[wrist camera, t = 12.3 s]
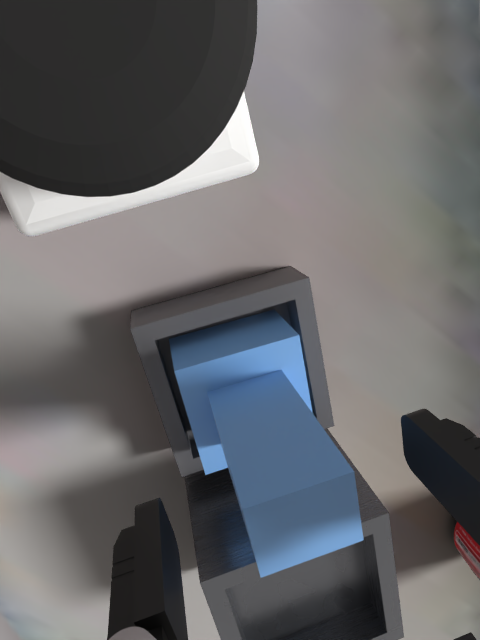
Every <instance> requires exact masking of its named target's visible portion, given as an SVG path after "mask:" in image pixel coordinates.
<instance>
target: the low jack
mask: <svg viewBox="0 0 480 640" xmlns="http://www.w3.org/2000/svg"><path fill="white" fill-rule="evenodd" d="M270 310H275V311H276V312H277V313H278V314H279V315H280V316H281V317H282V318H283V319H284V320H285V321H286V322H287V323H288V324H289V325H290V326H291V327H292V328H293V329H294V330H295V331H296V332H297V333H298V334H299V336H300V342H301V348H302V354H303V360H304V366H305V371H306V377H307V383H308V389H309V395H310V400H311V406H312V412H313V415H314V416H315V417H316V419H317V420H318V422H319V423H320V424H321V426H322V427H323V429H326V428H329V427H332V426H334V422H333V416H332V410H331V404H330V398H329V392H328V386H327V381H326V375H325V369H324V363H323V357H322V351H321V345H320V339H319V333H318V327H317V321H316V315H315V309H314V303H313V297H312V291H311V285H310V280H309V277H307V276H306V275H304V274H303V273H301V272H299V271H298V270H296V269H295V268H293V267H291V266H289V267H286V268H282V269H279V270H275V271H271V272H268V273H264V274H261V275H257V276H254V277H250V278H247V279H243V280H239V281H236V282H232V283H229V284H225V285H222V286H218V287H215V288H211V289H207V290H204V291H200V292H197V293H193V294H190V295H186V296H183V297H179V298H175V299H172V300H168V301H165V302H161V303H158V304H154V305H151V306H147V307H143V308H140V309H136V310H133V311H131V324H130V330H131V333H132V336H133V339H134V341H135V344H136V347H137V350H138V353H139V356H140V359H141V362H142V364H143V367H144V370H145V373H146V376H147V379H148V382H149V385H150V388H151V390H152V393H153V396H154V399H155V402H156V405H157V408H158V411H159V413H160V416H161V419H162V422H163V425H164V428H165V431H166V434H167V437H168V439H169V442H170V445H171V448H172V451H173V454H174V457H175V460H176V463H177V465H178V468H179V471H180V474H181V477H183V476H186V475H189V474H192V473H195V472H198V471H201V470H204V469H203V465H202V462H201V459H200V455H199V452H198V449H197V445H196V442H195V439H194V435H193V432H192V429H191V425H190V422H189V419H188V415H187V412H186V409H185V405H184V402H183V399H182V395H181V392H180V389H179V385H178V382H177V379H176V375H175V372H174V367H173V361H172V355H171V349H170V343H169V339H170V338H174V337H177V336H181V335H184V334H188V333H192V332H195V331H199V330H202V329H206V328H209V327H213V326H217V325H220V324H224V323H227V322H231V321H235V320H238V319H242V318H245V317H249V316H252V315H256V314H260V313H263V312H267V311H270Z"/></svg>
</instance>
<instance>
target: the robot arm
mask: <svg viewBox="0 0 480 640" xmlns="http://www.w3.org/2000/svg"><path fill="white" fill-rule="evenodd" d="M401 426H402V437H403V448H404V455H405V459H406V461H407V464H408V465H409V467H410V469H411V470H412V472H413V473H414V474H415V475H416V476H417V477H418V478H419V480H420V481H421V482H422V483H423V484H424V485H425V486H426V487H427V488H428V490H429V491H430V492H431V493H432V494H433V495H434V496H435V497H436V498H437V500H438V501H439V502H440V503H441V504H442V505H443V506H444V507H445V508H446V509H447V511H448V512H449V513H450V514H451V515H452V516H453V517H454V518H455V519H456V521H457V522H458V523H459V524H460V525H461V526H462V527H463V528H464V529H465V531H466V532H467V533H468V534H469V535H470V536H471V537H472V538H473V539H474V540H475V542H476V543H477V544H478V545H479V546H480V438H477V437H476V435H475V434H473V433H472V432H471V431H470V430H468V429H467V428H466V427H465V426H463V425H461V424H459V423H456V422H454V421H451V420H449V419H443V420H439V419H438V418H437V417H436V416H434V415H433V414H432V413H431V412H430V411H428V410H427V409H421V410H418V411H415V412H412V413H409V414H406V415H403V416H402V418H401ZM107 640H188V635H187V625H186V616H185V606H184V596H183V587H182V577H181V568H180V558H179V551H178V546H177V542H176V538H175V535H174V532H173V529H172V527H171V524H170V521H169V519H168V516H167V514H166V511H165V508H164V506H163V503H162V501H161V499H160V498H157V499H155V500H152V501H149V502H146V503H143V504H140V505H137V506H136V507H135V526H132V527H129V528H126V529H123V530H122V531H121V533H120V535H119V537H118V539H117V541H116V543H115V545H114V550H113V567H112V581H111V596H110V611H109V626H108V637H107ZM454 640H476V638H475V637H474V636H473V634H472V633H471V632H470V633H468V634H466V635H463V636H461V637H459V638H456V639H454Z"/></svg>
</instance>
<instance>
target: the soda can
mask: <svg viewBox="0 0 480 640" xmlns="http://www.w3.org/2000/svg"><path fill="white" fill-rule="evenodd" d="M454 542H455V546H456V548H457V550H458V551H459V552H460V554H461V555H462V557H463V558H464V560H465V561H466V563H467V564H468V565H469V567H470V568H471V570H472V571H473V572H474V574H475V575H476V576H477V577H478V579H479V580H480V546H479V545H478V544H477V543H476V542H475V540H474V539H473V538H472V537H471V536H470V535H469V534H468V533H467V532H466V531H465V529H464V528H463V527H462V526H461V525H460V524H459V523H458V522H457V523H456V526H455V531H454Z"/></svg>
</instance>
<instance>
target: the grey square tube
mask: <svg viewBox="0 0 480 640" xmlns="http://www.w3.org/2000/svg"><path fill="white" fill-rule="evenodd" d="M324 430H325V431H326V433H327V434H328V436H329V437H330V438H331V440H332V441H333V443H334V444H335V445H336V447H337V448H338V450H339V451H340V452H341V454H342V455H343V457H344V458H345V459H346V461H347V462H348V464H349V465H350V466H351V468H352V469H353V471H354V474H355V481H356V488H357V495H358V503H359V510H360V517H361V525H362V532H363V539H364V540H363V541H360V542H358V543H355V544H352V545H349V546H347V547H344V548H341V549H338V550H336V551H333V552H330V553H328V554H325V555H322V556H319V557H317V558H314V559H311V560H308V561H306V562H303V563H300V564H297V565H295V566H292V567H289V568H286V569H284V570H281V571H278V572H275V573H273V574H270V575H267V576H264V577H262V578H261V577H260V574H259V570H258V567H257V564H256V560H255V557H254V553H253V550H252V547H251V543H250V540H249V537H248V533H247V530H246V526H245V523H244V520H243V516H242V513H241V510H240V506H239V503H238V500H237V496H236V493H235V489H234V486H233V483H232V479H231V476H230V473H229V469H228V468H225V469H222V470H219V471H216V472H213V473H210V474H207V475H205V472H204V470H201V471H198V472H195V473H192V474H189V475H186V476H185V482H186V489H187V496H188V503H189V510H190V517H191V524H192V531H193V538H194V544H195V551H196V558H197V565H198V572H199V579H200V584H201V587H202V589H203V592H204V595H205V597H206V600H207V603H208V606H209V608H210V611H211V614H212V616H213V619H214V622H215V625H216V627H217V630H218V633H219V635H220V638H221V640H398V639H401V638H403V637H404V633H403V625H402V617H401V609H400V600H399V592H398V584H397V576H396V568H395V559H394V551H393V543H392V535H391V527H390V519H389V513H388V511H387V510H386V508H385V507H384V506H383V504H382V503H381V502H380V500H379V499H378V497H377V496H376V495H375V493H374V492H373V491H372V489H371V488H370V486H369V485H368V484H367V482H366V481H365V480H364V478H363V477H362V476H361V474H360V473H359V471H358V470H357V469H356V467H355V466H354V465H353V463H352V462H351V460H350V459H349V458H348V456H347V455H346V454H345V452H344V451H343V449H342V448H341V447H340V445H339V444H338V443H337V441H336V440H335V439H334V437H333V436H332V434H331V433H330V432H329V430H328V429H327V428H326V429H324Z"/></svg>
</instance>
